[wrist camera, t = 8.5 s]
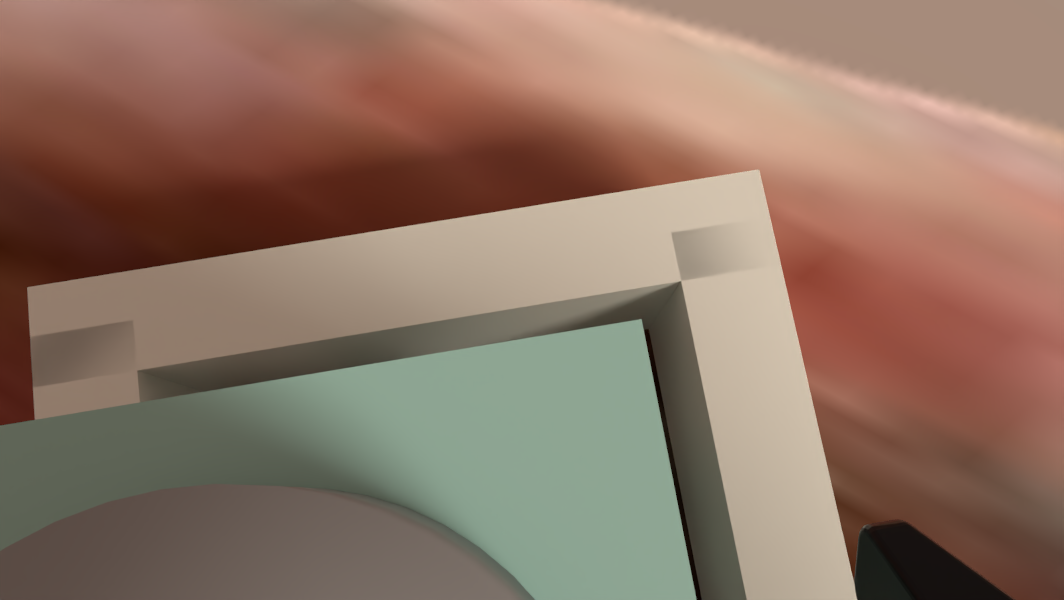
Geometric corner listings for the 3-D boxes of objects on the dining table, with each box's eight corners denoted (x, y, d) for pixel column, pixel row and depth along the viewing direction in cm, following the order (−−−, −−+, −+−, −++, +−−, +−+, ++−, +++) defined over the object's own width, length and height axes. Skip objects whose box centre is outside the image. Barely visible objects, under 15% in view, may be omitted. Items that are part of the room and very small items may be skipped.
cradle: (833, 814, 16) (930, 916, 12) (187, 933, 16) (72, 1077, 12) (710, 240, 18) (758, 169, 14) (138, 334, 18) (27, 287, 14)
